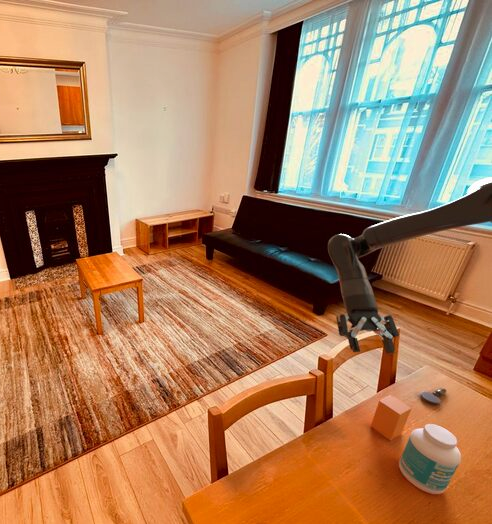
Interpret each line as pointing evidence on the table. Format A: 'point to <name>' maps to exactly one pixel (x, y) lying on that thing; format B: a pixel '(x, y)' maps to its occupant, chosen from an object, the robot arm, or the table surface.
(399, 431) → the orange rectangular block
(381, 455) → the table surface
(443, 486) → the pill bottle
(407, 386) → the table surface
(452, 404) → the table surface
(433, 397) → the grey oval keychain
